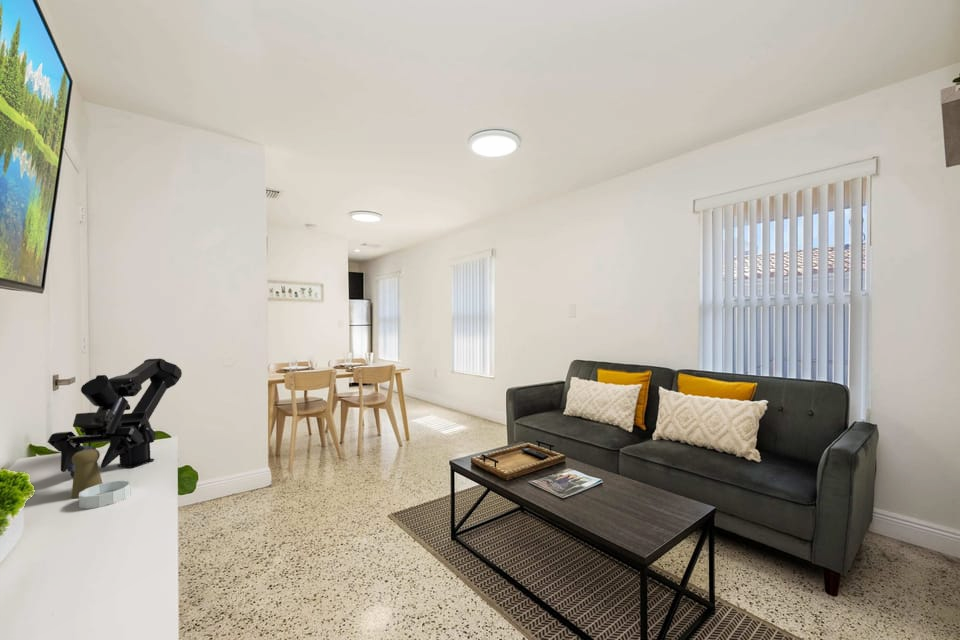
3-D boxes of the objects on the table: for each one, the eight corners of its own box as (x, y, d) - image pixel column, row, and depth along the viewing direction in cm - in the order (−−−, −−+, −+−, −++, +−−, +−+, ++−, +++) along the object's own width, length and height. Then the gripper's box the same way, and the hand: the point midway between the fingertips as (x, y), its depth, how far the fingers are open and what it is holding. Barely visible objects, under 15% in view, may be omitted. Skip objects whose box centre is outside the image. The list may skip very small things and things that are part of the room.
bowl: (114, 489, 108) (114, 478, 108) (140, 493, 105) (139, 482, 105) (69, 506, 99) (69, 494, 99) (96, 510, 96) (95, 498, 96)
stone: (68, 472, 121) (66, 438, 121) (96, 466, 126) (95, 433, 125) (67, 485, 111) (65, 448, 111) (98, 478, 116) (96, 443, 116)
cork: (66, 500, 102) (64, 456, 102) (76, 491, 107) (74, 449, 107) (98, 494, 105) (96, 451, 104) (107, 486, 110) (105, 445, 110)
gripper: (51, 402, 107) (16, 458, 97) (134, 396, 112) (110, 450, 101) (74, 424, 115) (45, 479, 105) (151, 418, 119) (131, 470, 109)
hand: (82, 469), depth 105 cm, fingers open, 8 cm apart
